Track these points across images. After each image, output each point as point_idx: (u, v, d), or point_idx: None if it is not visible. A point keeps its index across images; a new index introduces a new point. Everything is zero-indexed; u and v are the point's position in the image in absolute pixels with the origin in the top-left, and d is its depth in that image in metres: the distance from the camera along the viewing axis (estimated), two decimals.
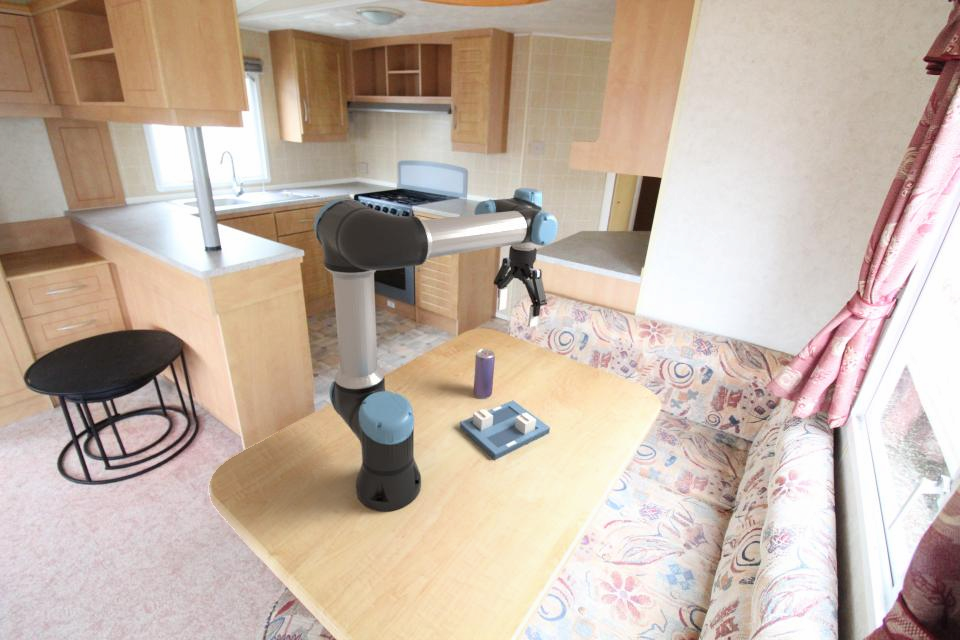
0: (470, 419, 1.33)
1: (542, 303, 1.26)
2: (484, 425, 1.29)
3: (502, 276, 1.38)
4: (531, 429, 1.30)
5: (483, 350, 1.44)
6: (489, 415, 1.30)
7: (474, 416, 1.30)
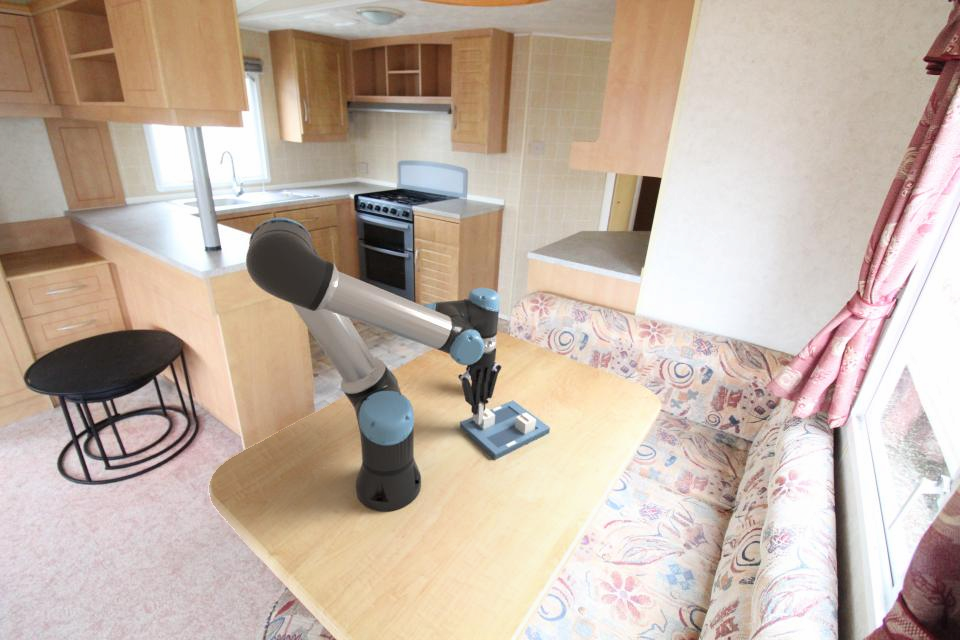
0: (470, 419, 1.33)
1: (467, 401, 1.25)
2: (486, 424, 1.30)
3: (488, 385, 1.27)
4: (531, 429, 1.30)
5: None
6: (491, 414, 1.30)
7: None
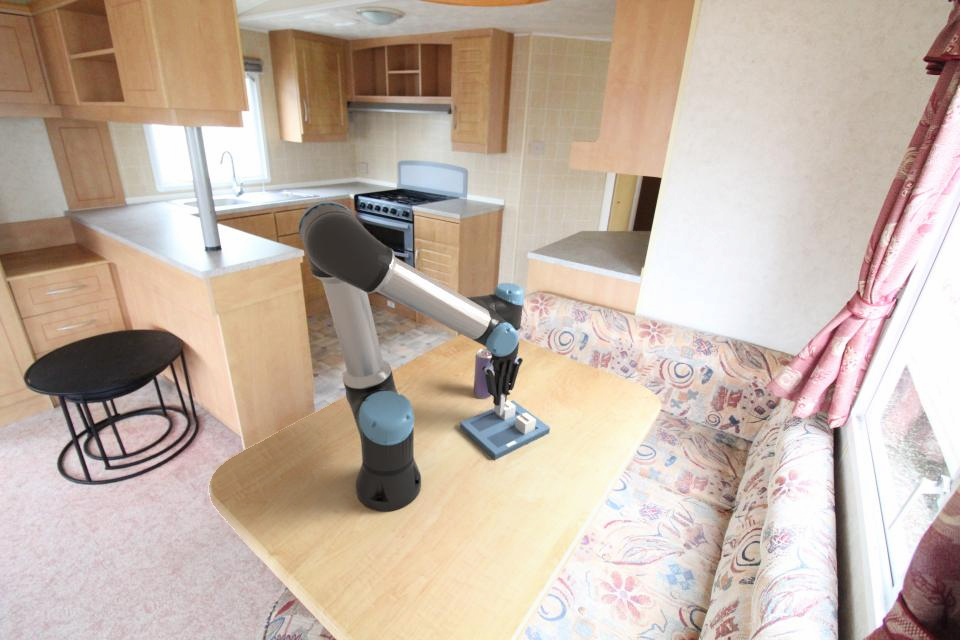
0: (470, 419, 1.33)
1: (489, 393, 1.29)
2: (507, 415, 1.34)
3: (510, 377, 1.32)
4: (531, 429, 1.30)
5: (483, 350, 1.44)
6: (512, 405, 1.35)
7: None
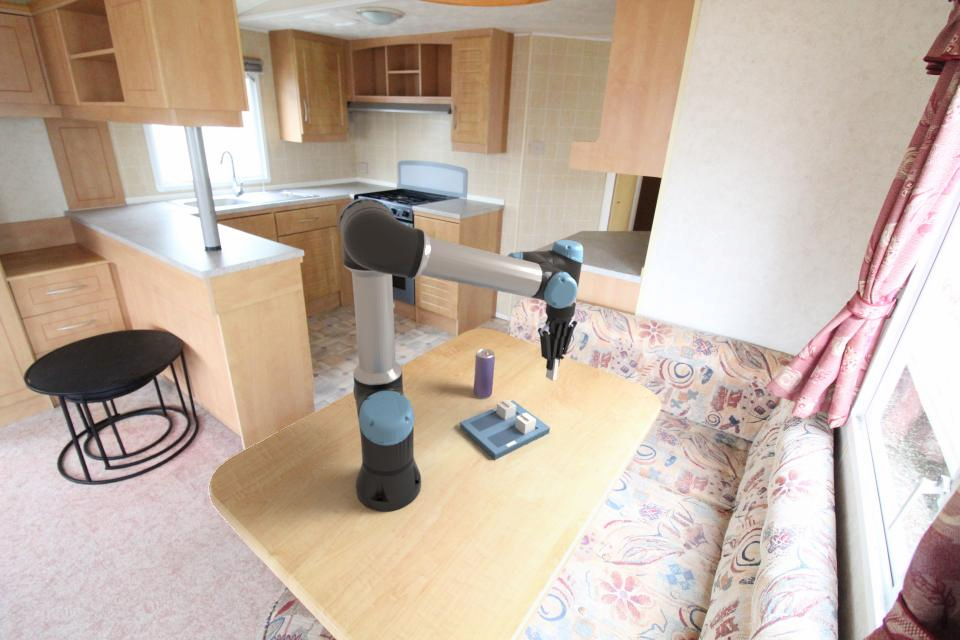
0: (470, 419, 1.33)
1: (543, 357, 1.25)
2: (508, 415, 1.34)
3: (563, 341, 1.27)
4: (531, 429, 1.30)
5: (483, 350, 1.44)
6: (512, 405, 1.35)
7: (498, 406, 1.35)
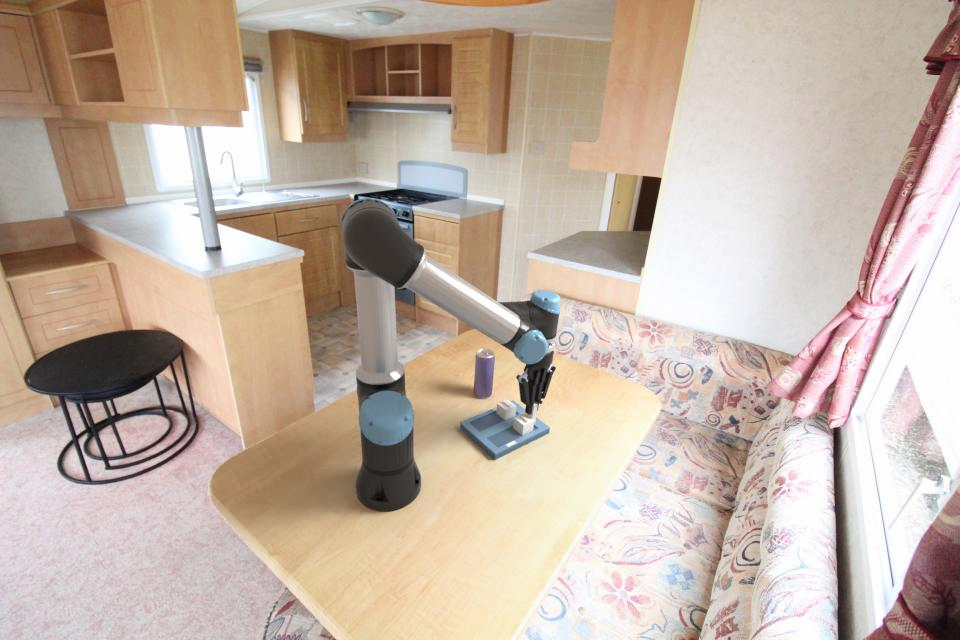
0: (470, 419, 1.33)
1: (522, 402, 1.27)
2: (508, 415, 1.34)
3: (542, 385, 1.29)
4: (529, 430, 1.29)
5: (483, 350, 1.44)
6: (512, 405, 1.35)
7: (498, 406, 1.35)
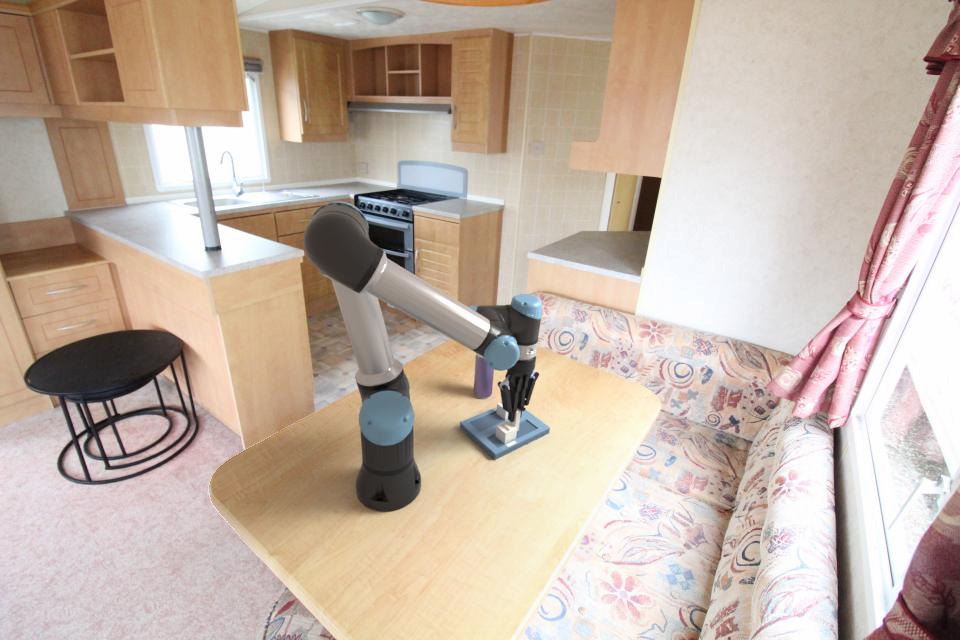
0: (470, 419, 1.33)
1: (504, 409, 1.23)
2: None
3: (525, 392, 1.25)
4: (512, 438, 1.26)
5: None
6: None
7: (498, 406, 1.35)
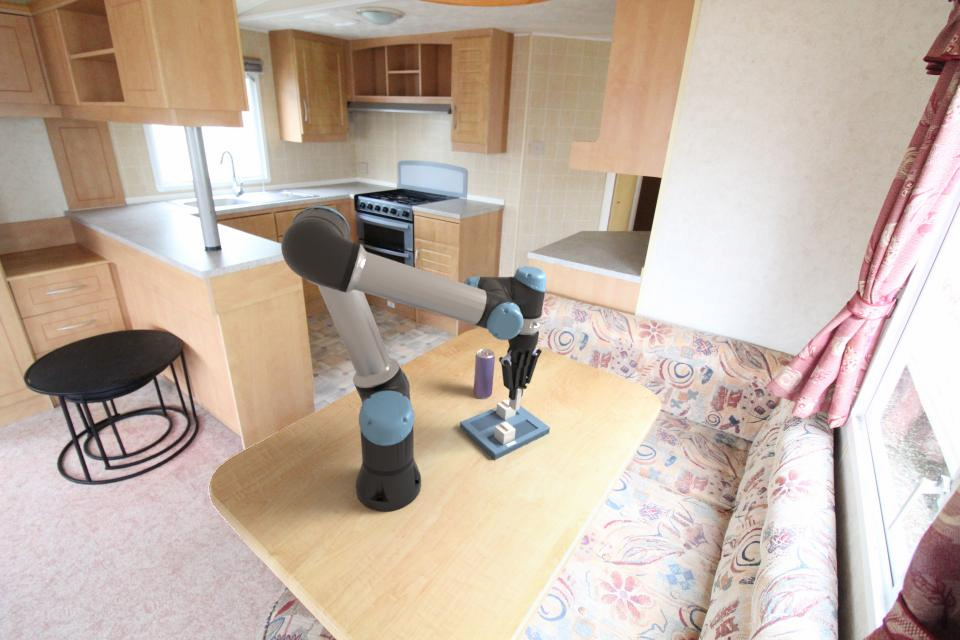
0: (470, 419, 1.33)
1: (505, 386, 1.20)
2: (508, 415, 1.34)
3: (527, 369, 1.22)
4: (510, 439, 1.26)
5: (483, 350, 1.44)
6: None
7: (498, 406, 1.35)
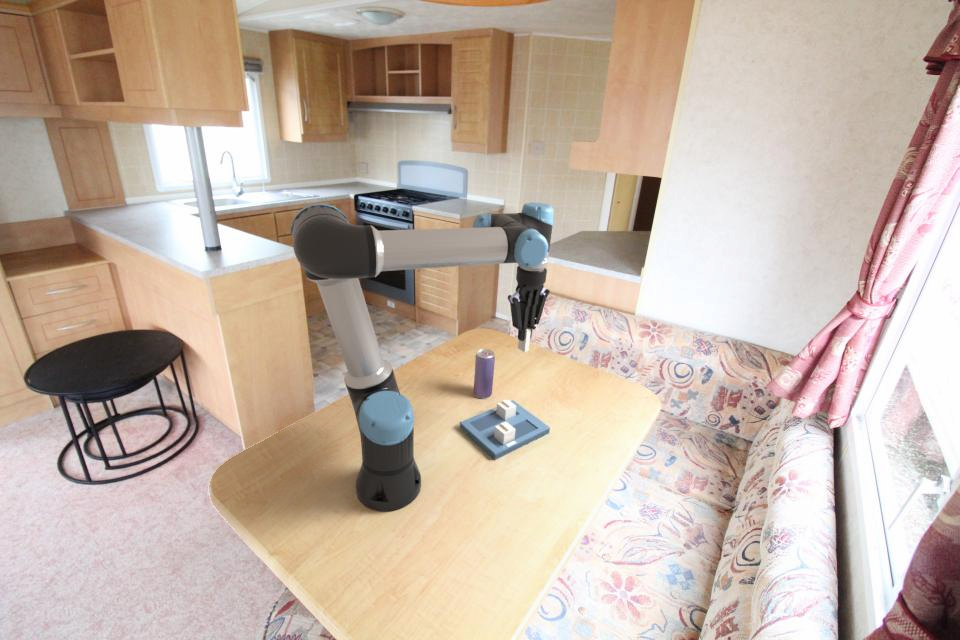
0: (470, 419, 1.33)
1: (514, 326, 1.21)
2: (508, 415, 1.34)
3: (535, 310, 1.23)
4: (510, 439, 1.26)
5: (483, 350, 1.44)
6: (512, 405, 1.35)
7: (498, 406, 1.35)
